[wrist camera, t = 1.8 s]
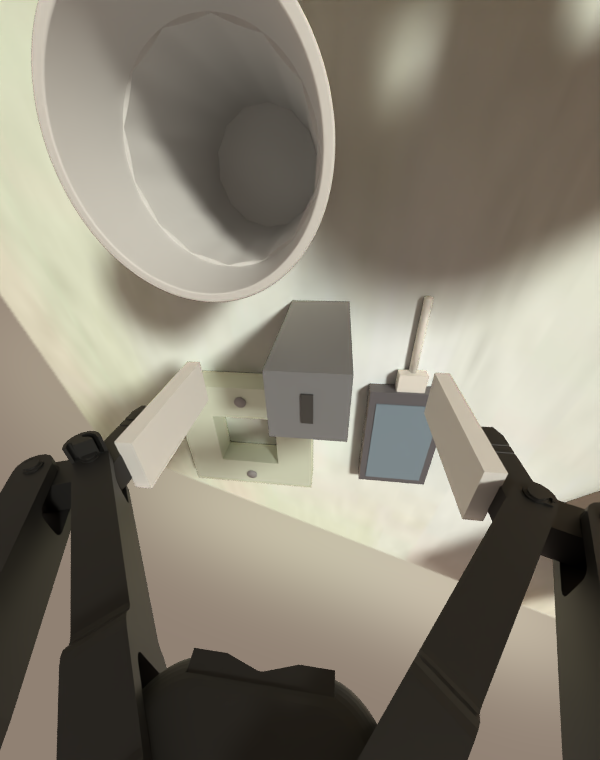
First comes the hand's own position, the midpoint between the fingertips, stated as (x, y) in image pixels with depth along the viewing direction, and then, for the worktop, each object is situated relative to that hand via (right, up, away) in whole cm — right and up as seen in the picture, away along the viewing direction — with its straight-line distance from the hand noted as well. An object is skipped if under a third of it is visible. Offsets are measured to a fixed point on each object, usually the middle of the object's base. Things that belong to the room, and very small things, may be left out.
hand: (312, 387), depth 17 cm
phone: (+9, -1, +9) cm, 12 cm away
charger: (+1, +5, +6) cm, 8 cm away
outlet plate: (-5, -4, +13) cm, 14 cm away
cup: (-2, +13, +1) cm, 13 cm away
